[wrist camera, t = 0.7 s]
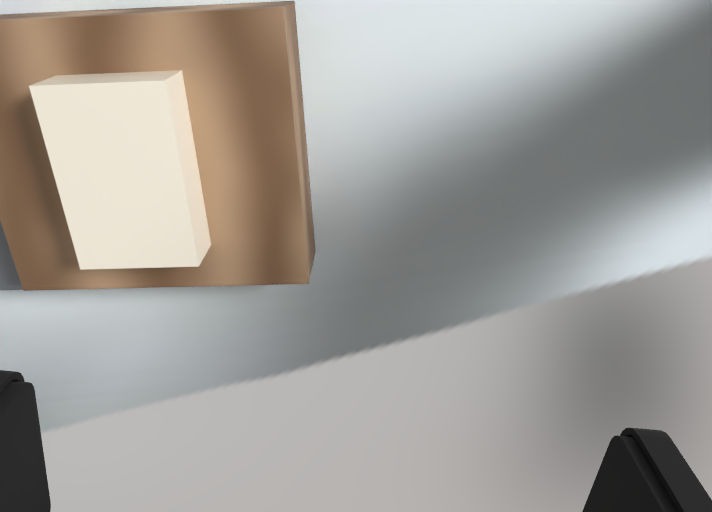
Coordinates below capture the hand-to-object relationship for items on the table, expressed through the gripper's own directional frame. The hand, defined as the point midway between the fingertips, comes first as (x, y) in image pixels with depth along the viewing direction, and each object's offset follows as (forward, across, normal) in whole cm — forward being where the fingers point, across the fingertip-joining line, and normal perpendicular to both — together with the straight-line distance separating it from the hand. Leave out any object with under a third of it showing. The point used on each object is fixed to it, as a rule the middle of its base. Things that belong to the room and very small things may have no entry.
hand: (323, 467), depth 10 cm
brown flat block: (+26, +10, +3) cm, 28 cm away
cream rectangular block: (+22, +10, +3) cm, 24 cm away
